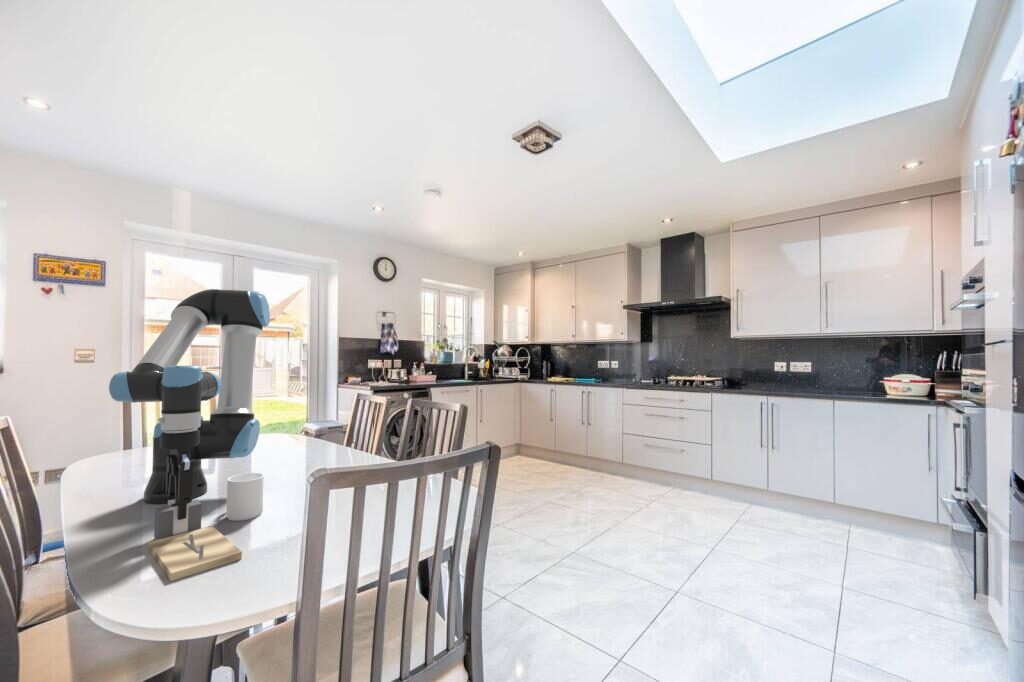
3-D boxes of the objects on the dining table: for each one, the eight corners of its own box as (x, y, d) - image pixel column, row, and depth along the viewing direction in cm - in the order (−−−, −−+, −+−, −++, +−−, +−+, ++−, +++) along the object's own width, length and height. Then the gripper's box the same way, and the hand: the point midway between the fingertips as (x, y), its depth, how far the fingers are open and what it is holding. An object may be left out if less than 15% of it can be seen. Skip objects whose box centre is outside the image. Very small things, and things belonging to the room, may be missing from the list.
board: (148, 548, 95) (148, 541, 95) (212, 532, 104) (212, 525, 104) (170, 581, 82) (171, 573, 82) (241, 558, 91) (241, 551, 91)
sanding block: (154, 538, 100) (155, 508, 100) (195, 528, 106) (196, 499, 107) (158, 544, 97) (159, 512, 98) (200, 533, 103) (201, 503, 104)
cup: (233, 523, 109) (235, 483, 110) (215, 512, 117) (217, 474, 117) (268, 514, 116) (269, 476, 116) (249, 504, 123) (250, 468, 123)
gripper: (152, 428, 105) (148, 524, 105) (170, 436, 94) (166, 545, 93) (189, 424, 111) (186, 516, 110) (210, 432, 100) (207, 534, 99)
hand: (177, 529), depth 102 cm, fingers closed on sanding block, 4 cm apart
